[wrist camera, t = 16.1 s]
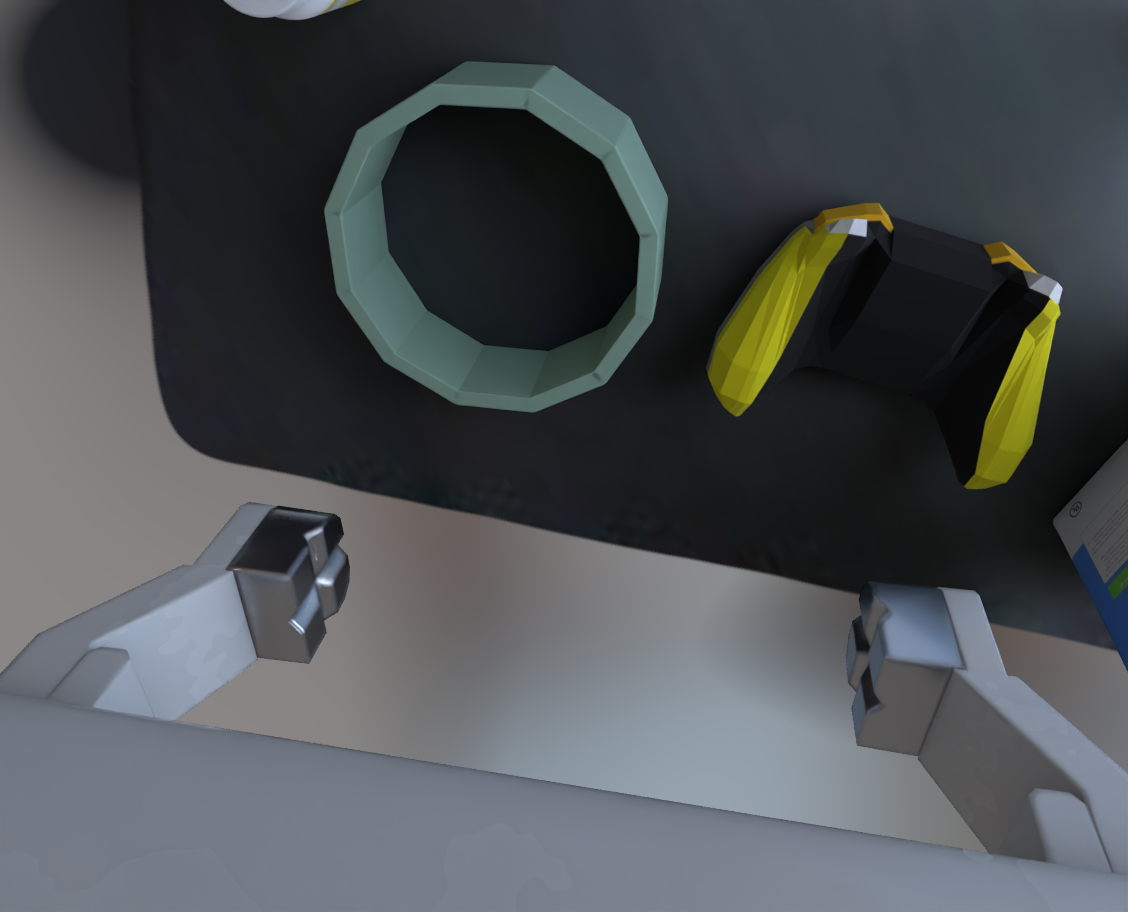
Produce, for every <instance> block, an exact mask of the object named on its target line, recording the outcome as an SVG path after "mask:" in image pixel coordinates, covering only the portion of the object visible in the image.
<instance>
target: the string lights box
mask: <svg viewBox="0 0 1128 912" xmlns="http://www.w3.org/2000/svg"><path fill="white" fill-rule="evenodd" d="M1053 525H1054V526H1055V528H1056V530H1057V531H1058V533H1059V535H1060V537H1061V539H1062V541H1063V543H1064V545H1065V547H1066V549H1067V551H1068V553H1069V555H1070V557H1071V559H1072V561H1073V563H1074V565H1075V567H1076V569H1077V570H1078V572H1079V575H1080V577H1081V579H1082V581H1083V583H1084V585H1085V587H1086V589H1087V591H1088V593H1089V595H1090V597H1091V599H1092V601H1093V603H1094V605H1095V607H1096V609H1097V611H1098V613H1099V615H1100V617H1101V619H1102V621H1103V623H1104V625H1105V627H1106V629H1107V631H1108V633H1109V635H1110V636H1111V638H1112V640H1113V643H1114V645H1115V647H1116V649H1117V651H1118V653H1119V655H1120V657H1121V659H1122V661H1123V663H1124V665H1125V667H1126V669H1127V671H1128V439H1127V440H1126V441H1125V442H1124V444H1123V445H1122V446H1121V447H1120V448H1119V449H1118V450H1117V451H1116V452H1115V453H1114V454H1113V455H1112V456H1111V457H1110V458H1109V460H1108V461H1107V462H1106V463H1105V464H1104V465H1103V466H1102V467H1101V468H1100V469H1099V470H1098V471H1097V472H1096V474H1095V475H1094V476H1093V477H1092V478H1091V479H1090V480H1089V481H1088V482H1087V483H1086V484H1085V486H1084V487H1083V488H1082V489H1081V490H1080V491H1079V492H1078V493H1077V494H1076V495H1075V496H1074V497H1073V499H1072V500H1071V501H1070V502H1069V503H1068V504H1067V505H1066V506H1065V507H1064V508H1063V509H1062V510H1061V511H1060V513H1059V514H1058V515H1057V516H1056V517H1055V518H1054V519H1053Z"/></svg>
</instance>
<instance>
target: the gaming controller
mask: <svg viewBox="0 0 1128 912" xmlns="http://www.w3.org/2000/svg"><path fill="white" fill-rule="evenodd" d="M1062 289H1063V288H1062V287H1061V286H1060V285H1059V283H1058V282H1056V281H1054V280H1052V279H1051V278H1049V277H1047V276H1045V275H1041V274H1038V273H1037V272H1036V271H1035V270H1034V269H1033V268H1031V267H1030V266H1029V265H1028V264H1027V263H1026V262H1025V261H1024V260H1023V259H1022V258H1021V257H1020V256H1019V255H1018V254H1017V253H1016V252H1015V251H1014V250H1013V249H1012V248H1010V247H1009V246H1007V245H1006V244H1004V243H1003V242H997V243H992V244H987V245H981V244H978V243H975V242H971V241H968V240H965V239H962V238H959V237H955V236H952V235H949V234H946V233H943V232H939V231H936V230H933V229H930V228H927V227H923V226H920V225H917V224H914V223H911V222H907V221H904V220H901V219H898V218H895V217H892V216H888V215H887V213H886V212H885V211H884V210H883V208H882V207H881V206H880V204H879V203H862V204H857V205H851V206H845V207H839V208H834V209H828V210H823V211H822V212H821V213H820V214H819V215H818V216H817V217H815V218H814V219H812V220H811V221H804V222H803V223H802V224H801V225H799V226H798V227H797V228H795V229H794V230H793V231H792V232H791V233H790V234H789V235H788V236H787V237H786V238H785V240H784V241H783V242H782V243H781V244H780V245H779V246H778V248H777V249H776V250H775V251H774V252H773V253H772V254H771V256H770V257H769V258H768V259H767V260H766V261H765V262H764V263H763V265H762V266H761V267H760V268H759V269H758V270H757V272H756V273H755V275H754V276H753V278H752V279H751V281H750V282H749V284H748V285H747V287H746V288H745V290H744V291H743V293H742V294H741V296H740V297H739V299H738V300H737V302H736V303H735V305H734V306H733V308H732V309H731V311H730V312H729V314H728V315H727V317H726V318H725V320H724V322H723V323H722V325H721V326H720V328H719V329H718V331H717V333H716V337H715V340H714V343H713V347H712V350H711V353H710V357H709V360H708V364H707V367H706V370H707V373H708V377H709V380H710V382H711V384H712V387H713V389H714V391H715V394H716V396H717V397H718V399H719V400H720V402H721V403H722V405H723V406H724V407H725V408H726V409H727V410H728V411H729V412H730V413H732V414H733V415H734V416H740V415H741V414H743V413H744V412H745V411H746V410H748V409H749V408H750V407H752V406H753V405H754V404H756V403H757V402H758V401H760V400H761V399H762V398H764V397H765V396H766V395H767V394H769V393H770V392H771V391H772V390H773V389H774V388H775V387H776V386H777V385H778V384H779V383H780V382H781V381H782V380H783V379H784V378H785V377H786V376H787V375H788V374H789V373H790V372H792V371H793V370H795V369H798V368H801V367H805V366H814V367H822V368H826V369H829V370H832V371H835V372H838V373H842V374H845V375H848V376H851V377H854V378H857V379H861V380H864V381H867V382H870V383H873V384H877V385H880V386H883V387H886V388H889V389H893V390H896V391H899V392H902V393H905V394H908V395H911V396H913V397H915V398H917V399H919V400H921V401H923V402H924V403H925V404H926V405H927V406H928V408H929V409H930V410H931V411H932V412H933V415H934V417H935V419H936V422H937V424H938V427H939V429H940V432H941V434H942V437H943V440H944V443H945V446H946V449H947V452H948V455H949V458H950V461H951V464H952V466H953V469H954V472H955V475H956V477H957V479H958V482H960V483H961V484H962V485H963V486H964V487H966V488H967V489H985V488H989V487H992V486H996V485H999V484H1002V483H1006V482H1007V481H1008V479H1009V478H1010V477H1011V476H1012V474H1013V473H1014V471H1015V470H1016V468H1017V466H1018V465H1019V463H1020V462H1021V460H1022V459H1023V457H1024V456H1025V454H1026V452H1027V451H1028V449H1029V448H1030V446H1031V445H1032V442H1033V437H1034V431H1035V426H1036V421H1037V415H1038V410H1039V405H1040V399H1041V394H1042V389H1043V383H1044V378H1045V373H1046V368H1047V363H1048V358H1049V353H1050V348H1051V343H1052V338H1053V334H1054V329H1055V323H1056V319H1057V318H1058V317H1059V315H1060V309H1059V306H1058V304H1059V300H1060V296H1061V293H1062Z"/></svg>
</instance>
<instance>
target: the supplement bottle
mask: <svg viewBox="0 0 1128 912" xmlns="http://www.w3.org/2000/svg"><path fill="white" fill-rule="evenodd" d="M224 1H225V2H226V3H227V4H229V5H230V6H231V7H233V8H234V9H236V10H237V11H239V12H241V13H244V14H247V15H249V16H253V17H261V18H268V17H274V16H275V17H278V18H282V19H288V20H302V19H308V18H312V17H315V16H318V15H321V14H324V13H326V12H329V11H332V10H336V9H338V8H342V7H344V6H347V5H350V4H353V3H356V2H358V1H361V0H224Z"/></svg>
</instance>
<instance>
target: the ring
mask: <svg viewBox="0 0 1128 912" xmlns="http://www.w3.org/2000/svg"><path fill="white" fill-rule="evenodd" d="M439 105H453V106H472V107H491V108H509V109H526V110H527V111H529V112H530V113H532V114H533V115H535V116H536V117H538V118H539V119H541V120H542V121H544V122H545V123H547V124H548V125H550V126H551V127H553V128H554V129H556V130H557V131H559V132H560V133H562V134H563V135H564V136H566V137H567V138H569V139H570V140H572V141H573V142H575V143H576V144H578V145H579V146H581V147H582V148H584V149H585V150H587V151H588V152H590V153H591V154H593V155H594V156H596V157H597V158H599V159H600V160H601V161H602V163H603V165H604V167H605V169H606V171H607V173H608V175H609V177H610V179H611V181H612V183H613V185H614V187H615V189H616V191H617V193H618V195H619V197H620V199H621V201H622V203H623V205H624V206H625V208H626V210H627V212H628V214H629V216H630V218H631V220H632V222H633V224H634V226H635V228H636V230H637V232H638V234H639V236H640V241H639V256H638V272H637V285H636V286H635V288H634V289H633V290H632V292H631V293H630V295H629V296H628V297H627V299H626V300H625V302H624V303H623V304H622V306H621V307H620V309H619V310H618V311H617V313H616V314H615V316H614V317H613V318H612V320H611V321H610V323H609V324H608V325H607V326H606V327H604V328H601V329H599V330H597V331H594V332H592V333H590V334H587V335H585V336H583V337H581V338H578V339H576V340H574V341H571V342H569V343H567V344H564V345H562V346H560V347H557V348H555V349H553V350H550V351H541V350H530V349H519V348H508V347H498V346H487V345H483V344H481V343H479V342H478V341H476V340H474V339H473V338H471V337H470V336H468V335H466V334H465V333H463V332H461V331H460V330H458V329H456V328H455V327H453V326H452V325H450V324H448V323H447V322H445V321H443V320H442V319H440V318H438V317H437V316H435V315H434V314H432V313H430V312H429V311H427V310H426V308H425V307H424V305H423V304H422V302H421V300H420V299H419V297H418V296H417V294H416V293H415V291H414V290H413V288H412V287H411V285H410V284H409V282H408V281H407V279H406V278H405V276H404V275H403V273H402V271H401V270H400V268H399V267H398V265H397V264H396V262H395V261H394V259H393V258H392V256H391V255H390V253H389V251H388V242H387V233H386V224H385V214H384V205H383V196H382V187H381V182H382V179H383V177H384V175H385V173H386V171H387V168H388V166H389V164H390V162H391V160H392V157H393V155H394V153H395V151H396V149H397V146H398V144H399V142H400V140H401V138H402V135H403V133H404V131H405V129H406V126H407V124H409V123H411V122H412V121H414V120H416V119H417V118H419V117H420V116H422V115H424V114H425V113H427V112H429V111H430V110H432V109H434V108H435V107H437V106H439ZM667 205H668V197H667V194H666V192H665V190H664V188H663V186H662V184H661V182H660V180H659V177H658V175H657V173H656V171H655V169H654V167H653V165H652V163H651V161H650V159H649V157H648V154H647V152H646V150H645V148H644V146H643V144H642V142H641V140H640V138H639V136H638V134H637V131H636V129H635V127H634V125H633V123H632V121H631V119H630V118H629V116H627V115H626V114H624V113H623V112H621V111H620V110H619V109H617V108H616V107H614V106H613V105H611V104H610V103H608V102H607V101H605V100H604V99H603V98H601V97H600V96H598V95H597V94H595V93H594V92H592V91H591V90H589V89H588V88H587V87H585V86H584V85H582V84H581V83H579V82H578V81H576V80H575V79H573V78H572V77H571V76H569V75H568V74H566V73H565V72H563V71H562V70H560V69H559V68H557V67H556V66H553V65H535V64H513V63H491V62H470V61H466V62H464V63H463V64H461V65H459V66H458V67H456V68H455V69H453V70H451V71H450V72H448V73H447V74H445V75H443V76H442V77H440V78H439V79H437V80H435V81H434V82H432V83H431V84H429V85H427V86H426V87H424V88H423V89H421V90H419V91H418V92H416V93H415V94H413V95H411V96H410V97H408V98H407V99H405V100H403V101H402V102H400V103H399V104H397V105H395V106H394V107H392V108H391V109H389V110H388V111H386V112H384V113H383V114H381V115H380V116H378V117H377V118H375V119H374V120H372V121H370V122H369V123H367V124H366V125H364V126H363V127H361V128H359V129H358V130H357V131H356V133H355V136H354V138H353V141H352V143H351V145H350V148H349V150H348V153H347V155H346V157H345V160H344V162H343V165H342V167H341V169H340V172H339V174H338V177H337V179H336V181H335V184H334V186H333V189H332V191H331V193H330V196H329V198H328V201H327V203H326V205H325V209H324V214H325V220H326V227H327V233H328V240H329V247H330V253H331V260H332V267H333V273H334V280H335V286H336V293H337V295H338V296H339V298H340V299H341V301H342V302H343V304H344V305H345V306H346V308H347V309H348V311H349V312H350V314H351V315H352V316H353V318H354V319H355V321H356V322H357V324H358V325H359V326H360V328H361V329H362V331H363V332H364V334H365V335H366V336H367V338H368V339H369V341H370V342H371V344H372V345H373V346H374V348H375V349H376V351H377V352H378V354H379V355H380V356H381V358H382V359H383V361H384V362H386V363H387V364H389V365H390V366H392V367H394V368H395V369H397V370H399V371H400V372H402V373H404V374H405V375H407V376H409V377H411V378H412V379H414V380H416V381H417V382H419V383H421V384H422V385H424V386H426V387H427V388H429V389H431V390H432V391H434V392H436V393H437V394H439V395H441V396H442V397H444V398H446V399H447V400H449V401H451V402H453V403H454V404H456V405H465V406H475V407H485V408H494V409H504V410H514V411H523V412H533V413H534V412H537V411H539V410H542V409H544V408H547V407H549V406H552V405H554V404H557V403H559V402H562V401H564V400H566V399H569V398H571V397H574V396H576V395H579V394H581V393H584V392H586V391H589V390H591V389H594V388H596V387H599V386H601V385H604V384H606V382H607V381H608V380H609V378H610V377H611V376H612V374H613V373H614V372H615V370H616V369H617V368H618V366H619V365H620V364H621V362H622V361H623V360H624V358H625V357H626V356H627V354H628V353H629V352H630V350H631V349H632V348H633V346H634V345H635V344H636V342H637V341H638V340H639V338H640V337H641V336H642V334H643V333H644V332H645V330H646V329H647V328H648V326H649V325H650V324H651V322H652V320H653V316H654V311H655V306H656V301H657V297H658V292H659V287H660V282H661V277H662V266H663V254H664V242H665V229H666V217H667Z"/></svg>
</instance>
